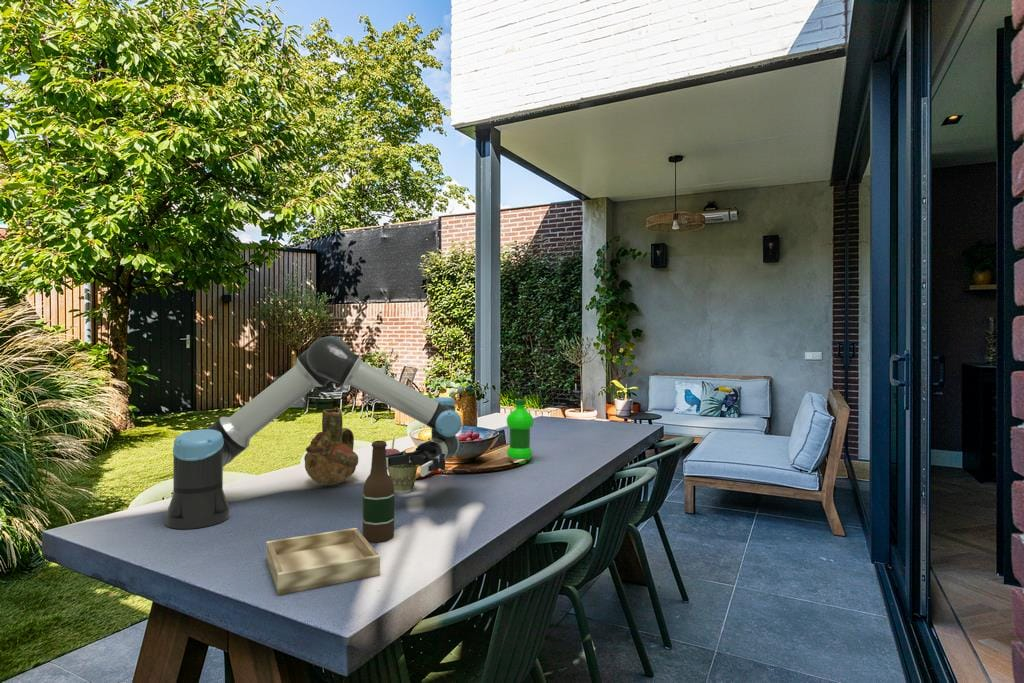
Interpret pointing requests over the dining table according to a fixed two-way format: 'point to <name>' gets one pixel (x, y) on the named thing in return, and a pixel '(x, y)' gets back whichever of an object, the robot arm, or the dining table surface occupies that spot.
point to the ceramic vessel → (331, 451)
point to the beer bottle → (378, 498)
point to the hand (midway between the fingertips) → (398, 469)
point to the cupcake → (392, 451)
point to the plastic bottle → (520, 432)
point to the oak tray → (320, 560)
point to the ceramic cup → (403, 477)
